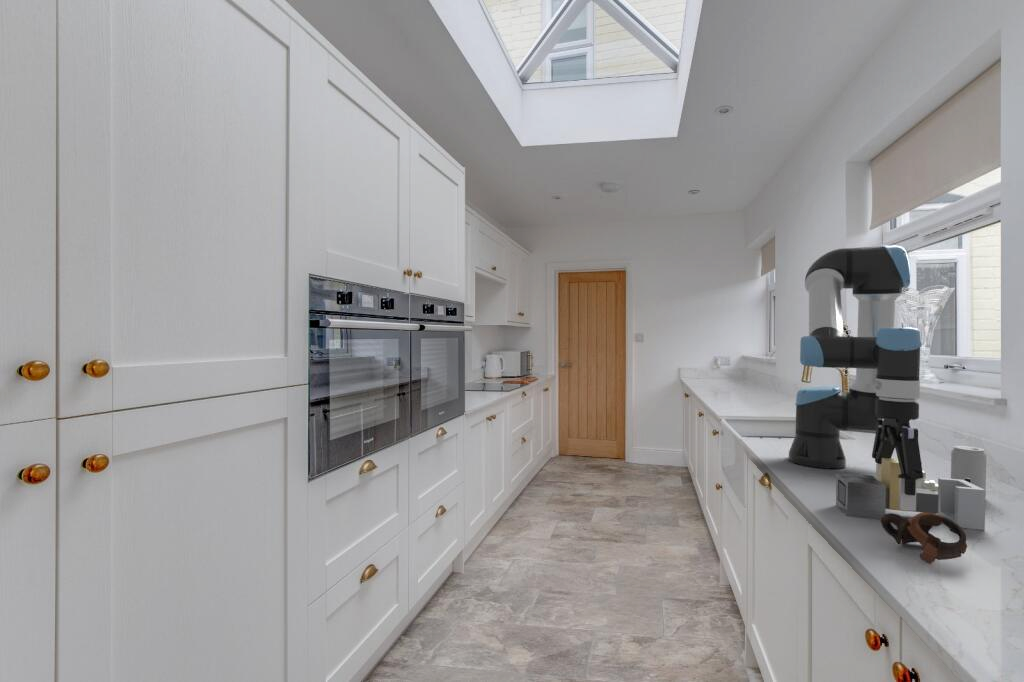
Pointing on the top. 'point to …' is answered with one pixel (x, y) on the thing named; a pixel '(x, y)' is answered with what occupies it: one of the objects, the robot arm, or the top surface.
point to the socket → (962, 503)
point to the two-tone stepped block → (889, 477)
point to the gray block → (862, 496)
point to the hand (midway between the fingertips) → (894, 501)
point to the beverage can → (969, 465)
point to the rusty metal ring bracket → (925, 535)
